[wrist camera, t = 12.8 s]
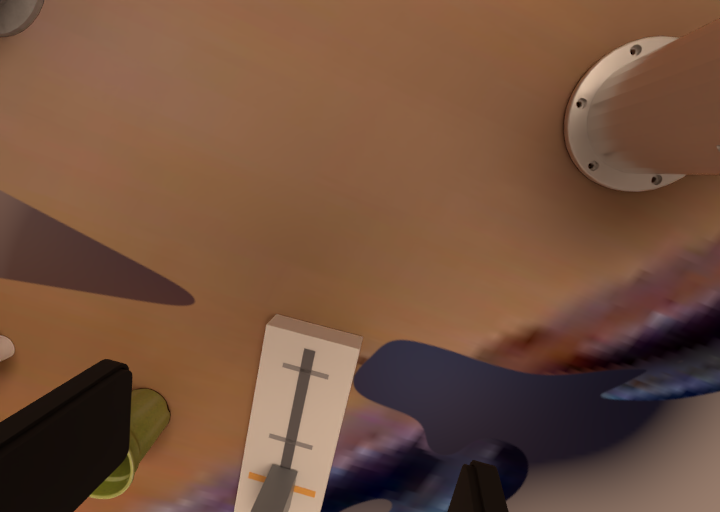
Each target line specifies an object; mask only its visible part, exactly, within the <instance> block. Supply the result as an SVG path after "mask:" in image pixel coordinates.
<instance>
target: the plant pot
mask: <svg viewBox="0 0 720 512" xmlns="http://www.w3.org/2000/svg"><path fill="white" fill-rule="evenodd" d="M169 419H170V412H169V411H168V409H167V404H166V401H165V400H164V398H163V397H162V396H161V395H159V394H158V393H156V392H155V391H153V390H150V389H138V390H133V391H132V395H131V419H130V442H129V451H128V454H127V456H126V458H125V460H124V461H123V462H122V463H121V465H120V466H119V467H118V468H117V469H116V470H115V471H114V472H113V473H112V474H111V475H110V476H109V477H108V478H107V479H106V480H105V481H104V482H103V483H102V484H101V485H100V486H99V487H98V488H97V489H96V490H95V491H94V492H93V493H92V494H91V495H90V496H89V497H92V498H97V499H109V498H113V497H117V496H119V495H121V494H122V493H123V492H125V491H126V490H127V488H128V487H129V486H130V484H131V483H132V481H133V478H134V474H135V472H136V470H137V468H138V465H139V463H140V461H141V460H142V459H143V457H144V456H145V455H146V453H147V452H148V450H149V449H150V448H151V446H152V445H153V443H154V442H155V441H156V439H157V438H158V436H159V435H160V434H161V432H162V431H163V430H164V428H165V427H166V426H167V424H168V422H169Z"/></svg>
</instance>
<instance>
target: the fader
mask: <svg viewBox="0 0 720 512" xmlns="http://www.w3.org/2000/svg"><path fill="white" fill-rule="evenodd" d="M297 473H298V472H297V471H294V470H290V469H287V468H284V467H280V466H277V465H273V464H272V466H271V468H270V470H269V473H268V475H267V477H266V479H265V481H264V483H263V486H262V488H261V490H260V492H259V494H258V496H257V498H256V501H255V503H254V505H253V507H252V509H251V512H288V511H289V508H290V505H291V500H292V496H293V491H294V487H295V482H296V477H297Z"/></svg>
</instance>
